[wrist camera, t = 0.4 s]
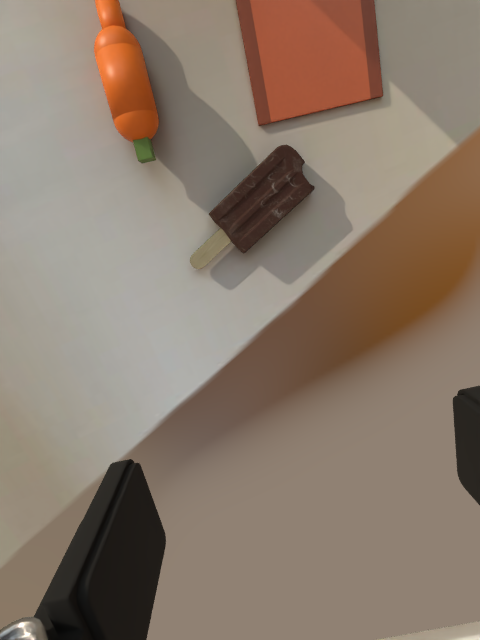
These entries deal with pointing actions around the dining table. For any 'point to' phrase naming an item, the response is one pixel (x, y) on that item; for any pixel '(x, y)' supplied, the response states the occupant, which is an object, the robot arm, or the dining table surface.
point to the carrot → (125, 80)
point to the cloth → (309, 55)
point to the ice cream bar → (256, 204)
